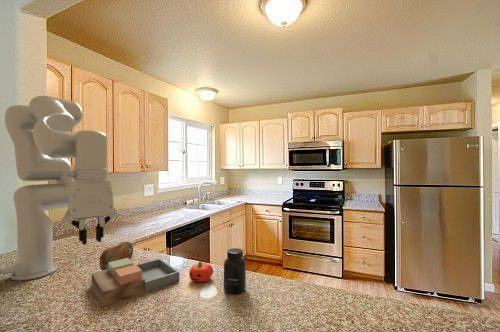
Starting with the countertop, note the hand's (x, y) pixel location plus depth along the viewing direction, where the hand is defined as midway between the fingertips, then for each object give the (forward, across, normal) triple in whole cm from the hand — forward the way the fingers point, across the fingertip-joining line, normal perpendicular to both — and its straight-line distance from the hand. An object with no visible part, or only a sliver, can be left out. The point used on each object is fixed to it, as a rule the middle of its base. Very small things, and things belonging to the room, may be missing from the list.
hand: (91, 241), depth 67 cm
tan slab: (+17, +8, +4) cm, 19 cm away
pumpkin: (+17, +30, -8) cm, 36 cm away
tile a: (+13, +10, 0) cm, 16 cm away
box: (+17, +19, +4) cm, 26 cm away
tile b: (+13, +10, +8) cm, 18 cm away
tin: (+17, +12, +23) cm, 31 cm away
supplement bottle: (+17, +34, -21) cm, 44 cm away
